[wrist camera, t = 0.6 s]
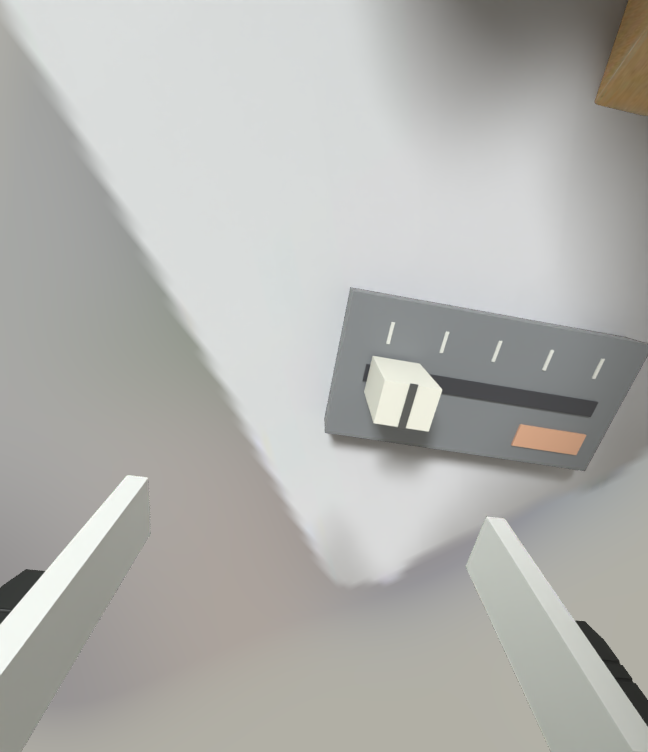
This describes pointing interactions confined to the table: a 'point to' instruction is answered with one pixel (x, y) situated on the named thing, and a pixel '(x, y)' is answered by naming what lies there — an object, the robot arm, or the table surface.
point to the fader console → (485, 379)
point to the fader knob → (401, 394)
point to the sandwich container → (628, 64)
